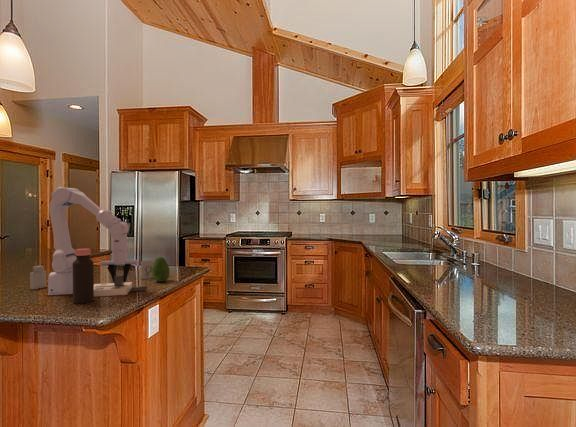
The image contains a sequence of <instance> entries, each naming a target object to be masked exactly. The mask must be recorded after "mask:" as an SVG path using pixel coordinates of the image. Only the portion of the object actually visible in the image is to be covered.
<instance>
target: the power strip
mask: <svg viewBox="0 0 576 427" xmlns="http://www.w3.org/2000/svg"><path fill="white" fill-rule="evenodd" d="M147 289H148V285H144V286H133V282H132V281H126V282H124V284H123V285H122V286H114V283H113V282H112V283H111V282H109V283H94V298H95V297H109V296H111V297H112V296H124V295H128V294H129V292H130V293H137V292H139V291H141V292H146V291H147Z"/></svg>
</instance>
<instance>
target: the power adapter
mask: <svg viewBox="0 0 576 427" xmlns="http://www.w3.org/2000/svg"><path fill="white" fill-rule="evenodd" d="M34 263H35V265H34V266H32V272H29V287H30V290H33V289H35V290H40V289H43V288H47V271H46V270H44V265H42V263H41V260H39V265H37V261H35V262H34ZM39 288H40V289H39Z"/></svg>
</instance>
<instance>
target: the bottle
mask: <svg viewBox="0 0 576 427" xmlns="http://www.w3.org/2000/svg"><path fill="white" fill-rule="evenodd" d="M74 250H75V255H76V257H77V259H76V260H75V261H74V262H73V294H72V303H73V304H74V305H75V304H76V305H82V304H88V303H91V302H94V300H95V297H94V284H95V283H94V282H95V281H94V280H95V279H94V272H95V271H94V261H93V260H92V258H91V252H92V250H91V248H87V247H86V248H76V249H74Z"/></svg>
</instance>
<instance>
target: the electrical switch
mask: <svg viewBox="0 0 576 427" xmlns="http://www.w3.org/2000/svg"><path fill="white" fill-rule="evenodd" d="M155 260H156V259H147V260H145V259H144V260H141V261H140V269H141V270H140V274H141V276H140V279H141V280H150V279H154V278H153V276H152V268H153V265H154V262H155Z"/></svg>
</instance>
